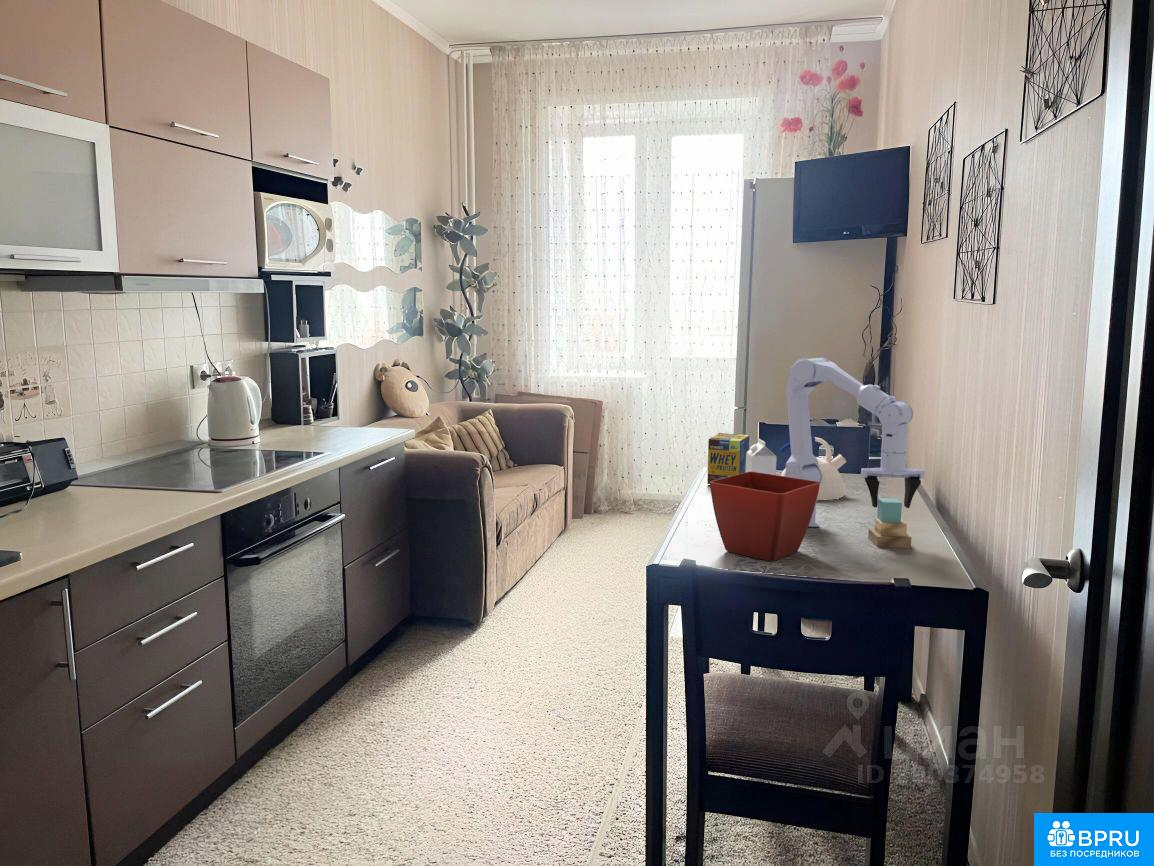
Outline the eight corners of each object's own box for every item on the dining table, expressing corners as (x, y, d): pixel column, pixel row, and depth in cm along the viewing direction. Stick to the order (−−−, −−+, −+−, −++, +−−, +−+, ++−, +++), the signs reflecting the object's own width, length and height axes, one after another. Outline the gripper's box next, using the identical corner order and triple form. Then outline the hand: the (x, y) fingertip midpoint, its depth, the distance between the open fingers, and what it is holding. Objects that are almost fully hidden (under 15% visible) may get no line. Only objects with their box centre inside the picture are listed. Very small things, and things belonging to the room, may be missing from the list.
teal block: (881, 522, 206) (882, 502, 205) (877, 517, 210) (878, 498, 210) (900, 522, 206) (901, 502, 205) (895, 518, 210) (896, 498, 209)
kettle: (854, 501, 254) (857, 441, 252) (784, 501, 255) (786, 441, 252) (835, 487, 274) (837, 432, 272) (770, 487, 275) (772, 431, 272)
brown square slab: (876, 548, 205) (877, 536, 204) (868, 540, 213) (868, 528, 212) (910, 549, 204) (911, 537, 204) (900, 540, 212) (901, 529, 212)
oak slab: (880, 535, 205) (881, 523, 205) (874, 529, 211) (875, 517, 211) (906, 536, 205) (906, 524, 204) (899, 530, 210) (900, 518, 210)
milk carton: (768, 502, 253) (770, 438, 250) (774, 507, 246) (777, 442, 243) (744, 502, 252) (746, 438, 250) (750, 507, 245) (752, 442, 243)
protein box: (706, 486, 276) (707, 438, 274) (718, 477, 290) (719, 432, 288) (738, 488, 272) (740, 440, 270) (748, 480, 286) (750, 434, 284)
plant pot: (819, 551, 201) (822, 481, 198) (779, 568, 187) (782, 493, 184) (748, 536, 213) (750, 470, 211) (705, 552, 199) (707, 481, 197)
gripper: (867, 453, 202) (864, 509, 204) (930, 454, 201) (926, 511, 203) (859, 449, 209) (857, 503, 211) (920, 450, 208) (917, 504, 210)
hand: (890, 506), depth 207 cm, fingers open, 7 cm apart
